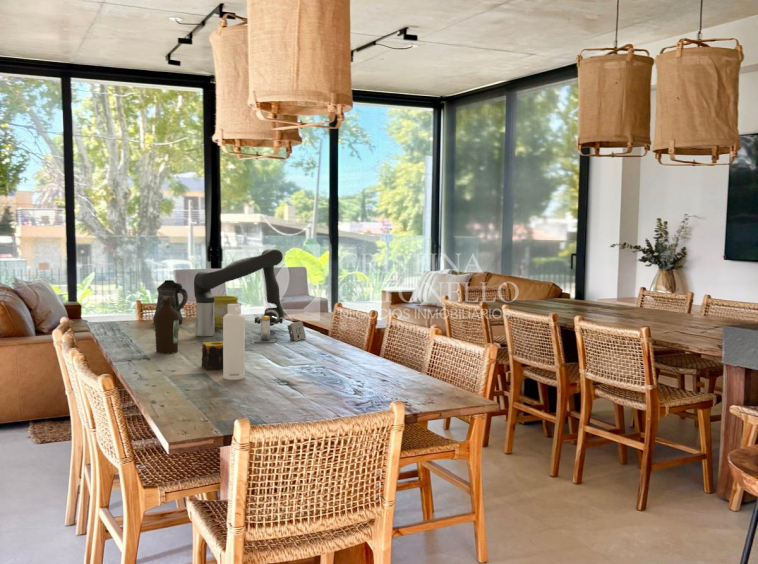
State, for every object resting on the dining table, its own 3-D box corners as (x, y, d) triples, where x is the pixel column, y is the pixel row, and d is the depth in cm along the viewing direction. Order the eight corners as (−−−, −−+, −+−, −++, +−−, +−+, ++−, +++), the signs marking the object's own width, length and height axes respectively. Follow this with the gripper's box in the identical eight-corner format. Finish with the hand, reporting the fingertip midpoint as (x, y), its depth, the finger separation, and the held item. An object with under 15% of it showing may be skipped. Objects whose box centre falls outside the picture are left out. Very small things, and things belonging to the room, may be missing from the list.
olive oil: (151, 353, 316) (151, 298, 314) (158, 349, 326) (157, 295, 324) (175, 354, 316) (175, 298, 314) (181, 349, 327) (181, 295, 324)
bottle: (234, 380, 265) (234, 306, 262) (218, 378, 269) (218, 304, 267) (249, 377, 272) (249, 304, 269) (233, 374, 276) (233, 302, 274)
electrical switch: (295, 341, 355) (294, 323, 354) (287, 341, 357) (286, 323, 357) (306, 339, 363) (305, 321, 362) (298, 339, 365) (296, 321, 365)
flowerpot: (234, 328, 394) (234, 299, 393) (202, 328, 394) (202, 298, 393) (241, 324, 412) (241, 295, 411) (210, 323, 412) (210, 295, 411)
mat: (254, 343, 348) (254, 341, 348) (256, 339, 358) (256, 338, 358) (274, 343, 348) (274, 342, 348) (276, 339, 358) (276, 338, 358)
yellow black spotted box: (206, 370, 282) (206, 346, 281) (200, 366, 291) (200, 342, 290) (232, 368, 287) (232, 344, 286) (225, 364, 295) (225, 340, 295)
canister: (260, 340, 351) (260, 316, 350) (261, 339, 355) (261, 315, 354) (269, 340, 351) (269, 316, 350) (270, 339, 355) (270, 315, 354)
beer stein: (154, 321, 416) (153, 279, 414) (188, 321, 420) (188, 279, 418) (152, 325, 400) (151, 281, 398) (187, 325, 404) (187, 281, 402)
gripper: (257, 310, 377) (253, 314, 361) (284, 311, 378) (281, 314, 361) (257, 324, 378) (253, 329, 361) (284, 324, 378) (281, 329, 362)
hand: (267, 322), depth 361 cm, fingers open, 8 cm apart
